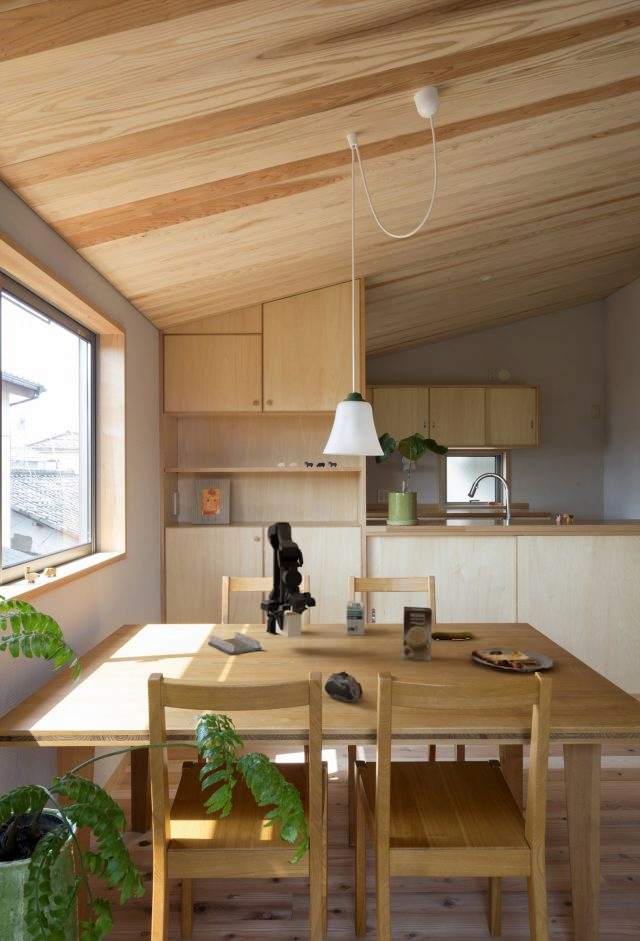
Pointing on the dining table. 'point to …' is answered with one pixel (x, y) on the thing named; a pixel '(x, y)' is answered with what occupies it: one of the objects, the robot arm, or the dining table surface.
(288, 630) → the module block
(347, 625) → the light bulb box
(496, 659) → the food plate
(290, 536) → the robot arm
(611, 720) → the dining table surface
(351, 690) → the dark grey rounded lump
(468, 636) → the green pickle
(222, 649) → the rail plate
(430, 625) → the coffee box
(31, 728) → the dining table surface
